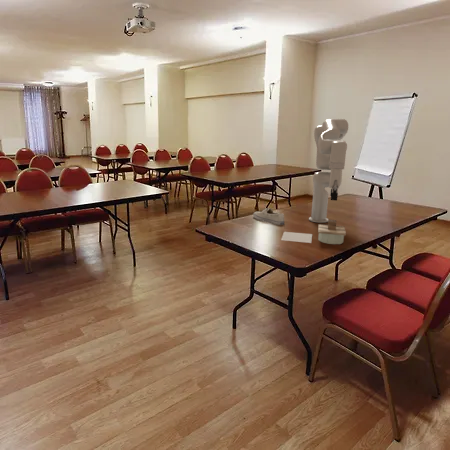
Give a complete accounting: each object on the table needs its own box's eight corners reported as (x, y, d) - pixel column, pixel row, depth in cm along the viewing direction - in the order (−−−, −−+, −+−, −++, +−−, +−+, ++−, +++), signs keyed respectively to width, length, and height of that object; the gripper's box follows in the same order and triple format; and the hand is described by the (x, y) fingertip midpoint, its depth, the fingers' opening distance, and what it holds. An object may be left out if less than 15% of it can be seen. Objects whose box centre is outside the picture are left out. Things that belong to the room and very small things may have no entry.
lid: (318, 225, 207) (319, 216, 206) (344, 228, 204) (345, 218, 203) (317, 233, 194) (318, 223, 193) (345, 235, 191) (346, 225, 190)
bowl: (318, 236, 208) (319, 226, 207) (342, 238, 205) (343, 228, 204) (318, 243, 196) (318, 232, 195) (343, 246, 193) (344, 235, 192)
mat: (283, 232, 215) (284, 231, 214) (312, 235, 211) (312, 234, 211) (280, 241, 200) (281, 240, 199) (311, 243, 196) (311, 242, 196)
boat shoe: (250, 217, 247) (251, 205, 244) (260, 215, 252) (260, 203, 250) (277, 226, 228) (278, 212, 225) (287, 224, 233) (288, 210, 231)
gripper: (329, 163, 199) (326, 194, 204) (329, 167, 183) (326, 201, 188) (343, 164, 198) (340, 195, 203) (345, 168, 182) (341, 202, 187)
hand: (333, 198), depth 195 cm, fingers open, 9 cm apart
